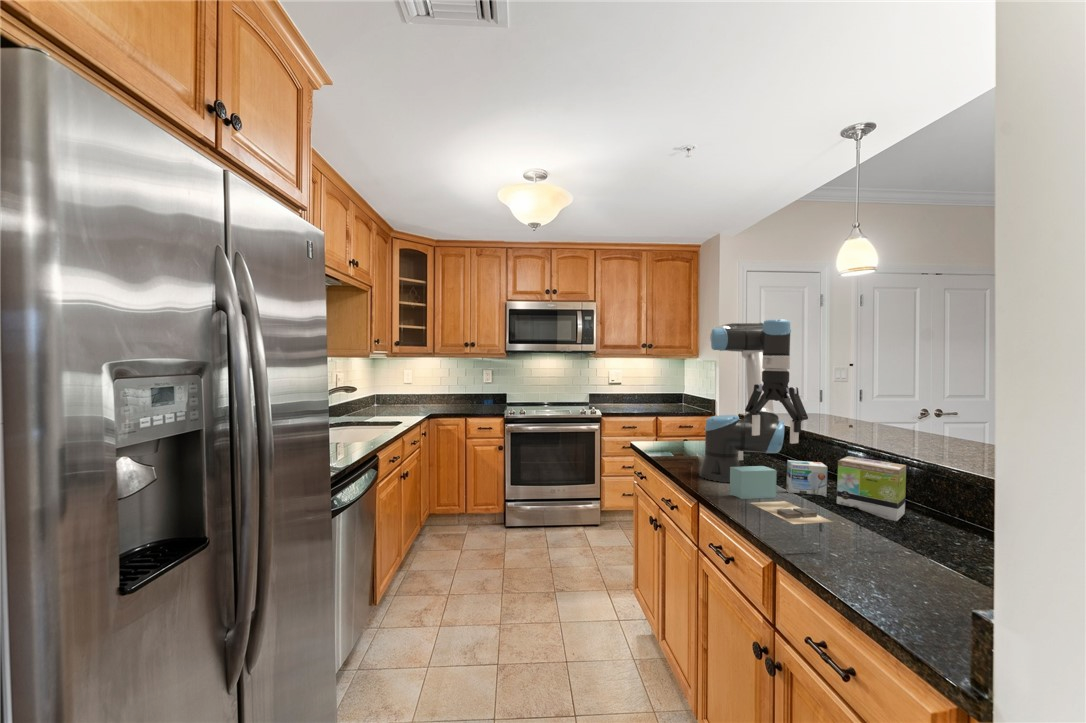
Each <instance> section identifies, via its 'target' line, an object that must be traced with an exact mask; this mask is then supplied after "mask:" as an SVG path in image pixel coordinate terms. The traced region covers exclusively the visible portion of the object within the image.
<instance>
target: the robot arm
mask: <svg viewBox="0 0 1086 723" xmlns="http://www.w3.org/2000/svg"><path fill="white" fill-rule="evenodd" d="M791 332H792V329H791V322H790V320H788V319H785V318H783V319H781V318H780V319H778V318H777V319H766V320H764V321H763V322H758V323H757V322H755V323H747V322H746V323H743V322H741V323H738V322H732V323H725V324H722V325H718V326H717V327H715V328H712V329H711V332H710V335H709V340H710V347H711V350H712V351H720V352H724V351H727V352H737V353H738V352H739V353H740V352H741V357H743V358H744V359H745V366H746V370H745V371H746V388H747V389H746V390H747V394H746V395H747V405H746V407H745V409H744V411H745V412H746V413H745V414H744V417H743V418H742V419H740V417H739V415H737V414H722V415H714V416H710V417H707V419H706V421H705V428H704V431H705V439H704V440H705V441H704V442H705V443H704V458H703V460H702V462H701V465H700V469H699V477H700V476H701V478H702V479H704V478H705V479H704V480H707V479H708V480H707V481H711V480H713V481H712V482H716V481H719V482H718V483H727V482H730V467H742V466H741V463H740V461H739V452H750V453H762V454H778V453H780V451H781V450H782V448H783V444H784V439H785V438H784V437H785V422H784V421H782V420H779V415H778V413H775V412H774V401H776V402H779V403H781V404H782V405H783V406H782V407H784V408H785V410H786V412H787V413H788V415H789V417H790V418H791V419H792V420H790V422H789V444H792V445H793V444H799V441H800V440H799V435H800V433H801V432H802V422H803V421H807V420H808V419H809V416H808V414H807V412H806V409H805V407H804V403H803V402H802V399H801V398H800V394H799V388H798V387H796V386H793V387H792V386H790V387H789V383H790V372H789V370H790V369H791V366H790V365H791V362H790V361H791V357H790V356H791V355H790V354H791V350H790V349H791ZM788 394H789V395H788Z"/></svg>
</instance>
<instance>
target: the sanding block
mask: <svg viewBox="0 0 1086 723" xmlns="http://www.w3.org/2000/svg"><path fill="white" fill-rule="evenodd" d="M777 472H778V471H777V469H774V468H772V467H768V466H765V465H755V466H754V465H752V466H751V465H748V466H745V465H744V466H741V467H730V483H729V496H735V497H736V498H738V499H741V500H747V499H748V500H749V499H751V500H752V499H771V498H772V499H773V498H774V499H775V498H777V475H778V474H777Z"/></svg>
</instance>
